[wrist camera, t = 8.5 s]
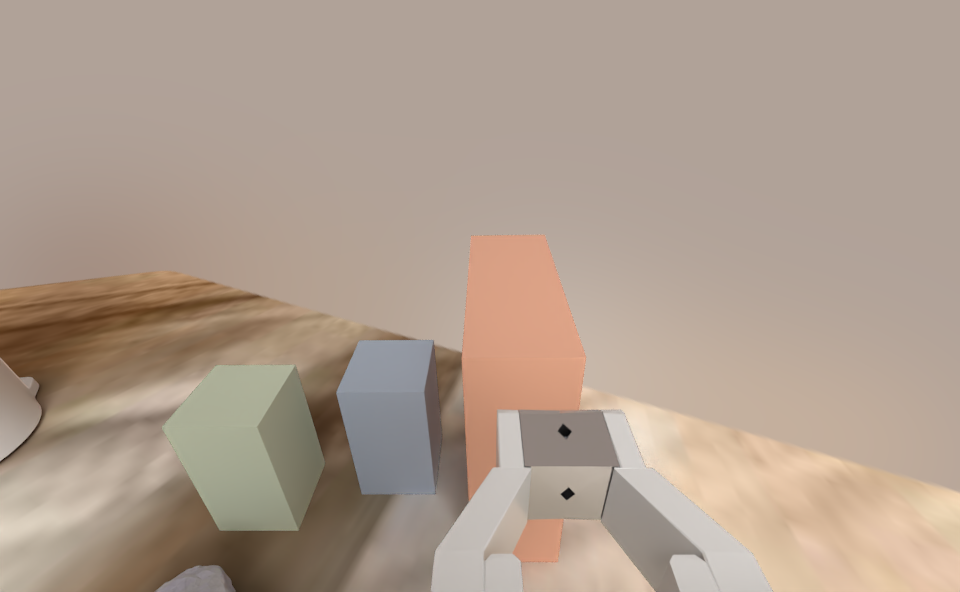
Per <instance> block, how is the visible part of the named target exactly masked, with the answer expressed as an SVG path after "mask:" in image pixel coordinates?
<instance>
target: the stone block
mask: <svg viewBox="0 0 960 592" xmlns="http://www.w3.org/2000/svg"><path fill="white" fill-rule="evenodd" d="M155 592H236V591H235V589H234V587H233V586H232V582H231V579H230V578H229V577H228V576H227V575H226V573H225V572H224V570H223V569H222V568H221V567H220V566H217V565H210V566H201V565H199V566H195V567H193V568H190V569H187V570H186V571H184V572H183V573H181V574H179V575H178V576H177V577H175V578H174V579H172V580H170V581H169V582H166V583H165V584H163V585H162V586H161V587H160V588H159V589H157V590H156V591H155Z"/></svg>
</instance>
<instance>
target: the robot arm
mask: <svg viewBox="0 0 960 592" xmlns="http://www.w3.org/2000/svg"><path fill="white" fill-rule="evenodd" d="M38 389H39V384H38V383H37V382H36V381H35V380H34V378H32V377H22V378H19V377H18V376H17V375H16V374H15V373H14V372H13V371H12V370H11V369H10V368H9V366H8V365H7V364H6V363H5V362H4V361H3V360H2V359H1V358H0V461H1V460H2V459H4V458H5V457H6V456H7V455H9V454H10V453H11V452H12V451H14V450H15V449H16V448H17V447H18V446H19V445H20V444H21V443H22V442H23V441H24V440H25V439H26V438H27V437H28V436H29V435H30V434H31V433H32V431H33V430H34V429H35V427H36V426H37V424H38V422H39V420H40V418H41V414H42V409H41V406H40V404H39V403H38V402H37V401H36V399H35V396H36V393H37V391H38ZM535 519H586V520H601V523H602V524H603V525H604V526H605V528H606V529H607V530H608V531H609V533H610V534H611V535H612V537H613V538H614V539H615V540H616V542H617V543H618V544H619V545H620V547H621V548H622V549H623V551H624V552H625V553H626V554H627V556H628V557H629V558H630V559H631V561H632V562H633V563H634V565H635V566H636V567H637V568H638V570H639V571H640V572H641V573H642V575H643V576H644V577H645V578H646V580H647V581H648V582H649V584H650V585H651V586H652V587H653V589H654V590H655V591H656V592H773V590H772V588H771V587H770V585H769V583H768V581H767V579H766V577H765V575H764V573H763V572H762V570H761V568H760V566H759V564H758V562H757V560H756V559H755V557H754V555H753V553H752V552H750V551H749V550H748V549H747V548H746V547H745V546H743V545H742V544H741V543H740V542H739V541H738V540H736V539H735V538H734V537H733V536H732V535H731V534H729V533H728V532H727V531H726V530H725V529H724V528H722V527H721V526H720V525H719V524H718V523H717V522H715V521H714V520H713V519H712V518H711V517H710V516H708V515H707V514H706V513H705V512H704V511H702V510H701V509H700V508H699V507H698V506H697V505H695V504H694V503H693V502H692V501H691V500H690V499H688V498H687V497H686V496H685V495H684V494H683V493H681V492H680V491H679V490H678V489H677V488H676V487H674V486H673V485H672V484H671V483H670V482H669V481H667V480H666V479H665V478H664V477H663V476H662V475H660V474H659V473H658V472H657V471H656V470H655V469H653V468H646V466H645V464H644V461H643V459H642V456H641V454H640V451H639V449H638V446H637V444H636V441H635V439H634V436H633V434H632V431H631V429H630V426H629V424H628V421H627V419H626V416H625V414H624V412H623V411H622V410H558V411H556V410H502V409H497V430H496V467H493V468H492V469H491V471H490V472H489V474H488V475H487V476H486V478H485V479H484V481H483V482H482V484H481V485H480V487H479V488H478V489H477V491H476V492H475V494H474V495H473V497H472V498H471V500H470V501H469V503H468V504H467V505H466V507H465V508H464V510H463V511H462V513H461V514H460V516H459V517H458V518H457V520H456V521H455V523H454V524H453V526H452V527H451V529H450V530H449V531H448V533H447V534H446V536H445V537H444V539H443V540H442V542H441V543H440V544H439V546H438V547H437V549H436V550H435V555H434V565H433V574H432V584H431V592H523V581H522V569H521V561H520V560H519V559H518V558H517V557H516V556H515V555H514V554H512V553H513V551H514V549H515V547H516V544H517V542H518V540H519V538H520V536H521V534H522V532H523V530H524V528H525V526H526V524H527V520H535Z"/></svg>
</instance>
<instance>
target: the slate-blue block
mask: <svg viewBox="0 0 960 592" xmlns="http://www.w3.org/2000/svg"><path fill="white" fill-rule="evenodd" d="M336 394H337V398H338V402H339V406H340V410H341V414H342V418H343V421H344V425H345V429H346V433H347V437H348V441H349V445H350V449H351V453H352V457H353V461H354V465H355V469H356V473H357V477H358V481H359V485H360V489H361V493H362V494H436V486H437V477H438V469H439V460H440V451H441V442H442V427H441V416H440V405H439V394H438V383H437V372H436V361H435V349H434V341H433V340H363V341H359V343H358V345H357V347H356V349H355V352H354V354H353V356H352V358H351V360H350V363H349V365H348V367H347V369H346V372H345V374H344V376H343V378H342V381H341V383H340V385H339V387H338V390H337V392H336Z"/></svg>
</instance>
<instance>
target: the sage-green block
mask: <svg viewBox="0 0 960 592" xmlns="http://www.w3.org/2000/svg"><path fill="white" fill-rule="evenodd" d="M162 429H163V431H164V432H165V434H166V436H167V438H168V440H169V441H170V443H171V445H172V447H173V448H174V450H175V452H176V454H177V456H178V457H179V459H180V461H181V463H182V464H183V466H184V468H185V470H186V472H187V473H188V475H189V477H190V479H191V480H192V482H193V484H194V486H195V488H196V489H197V491H198V493H199V495H200V496H201V498H202V500H203V502H204V504H205V505H206V507H207V509H208V511H209V512H210V514H211V516H212V518H213V520H214V521H215V523H216V525H217V527H218V528H219V530H220V531H299V529H300V526H301V524H302V521H303V519H304V516H305V514H306V511H307V508H308V506H309V503H310V501H311V498H312V496H313V493H314V491H315V488H316V486H317V483H318V481H319V478H320V476H321V473H322V470H323V468H324V465H325V460H324V457H323V454H322V450H321V447H320V444H319V440H318V437H317V434H316V431H315V427H314V424H313V421H312V417H311V414H310V411H309V408H308V404H307V401H306V398H305V394H304V391H303V388H302V385H301V381H300V378H299V375H298V371H297V368H296V365H216V366H215V367H214V368H213V369H212V370H211V371H210V373H209V374H208V375H207V376H206V377H205V378H204V379H203V381H202V382H201V383H200V384H199V385H198V386H197V387H196V389H195V390H194V391H193V392H192V393H191V394H190V395H189V396H188V398H187V399H186V400H185V401H184V402H183V403H182V404H181V406H180V407H179V408H178V409H177V410H176V411H175V412H174V414H173V415H172V416H171V417H170V418H169V419H168V420H167V422H166V423H165V424H164V425H163V426H162Z"/></svg>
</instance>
